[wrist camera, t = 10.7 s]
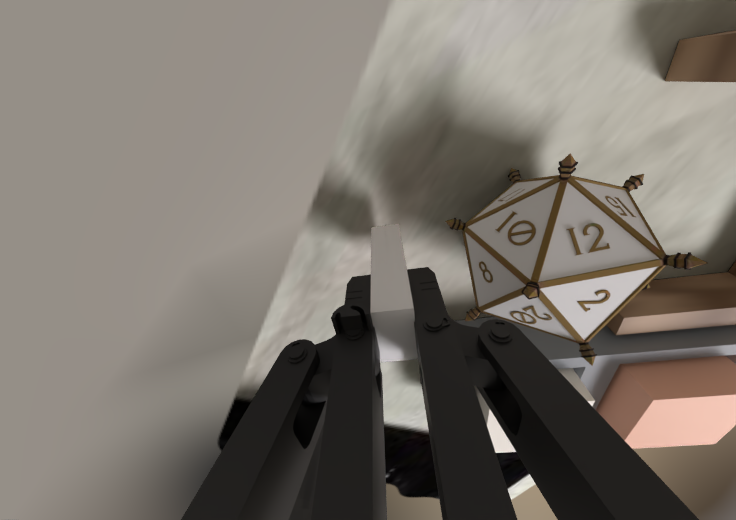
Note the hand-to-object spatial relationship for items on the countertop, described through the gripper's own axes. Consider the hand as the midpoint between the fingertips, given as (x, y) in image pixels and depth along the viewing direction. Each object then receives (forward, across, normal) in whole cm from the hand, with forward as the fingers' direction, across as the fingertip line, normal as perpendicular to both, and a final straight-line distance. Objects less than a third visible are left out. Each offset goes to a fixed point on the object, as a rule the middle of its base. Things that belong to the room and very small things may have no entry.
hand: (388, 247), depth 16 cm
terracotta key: (-1, +17, -13) cm, 21 cm away
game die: (+2, +7, 0) cm, 8 cm away
